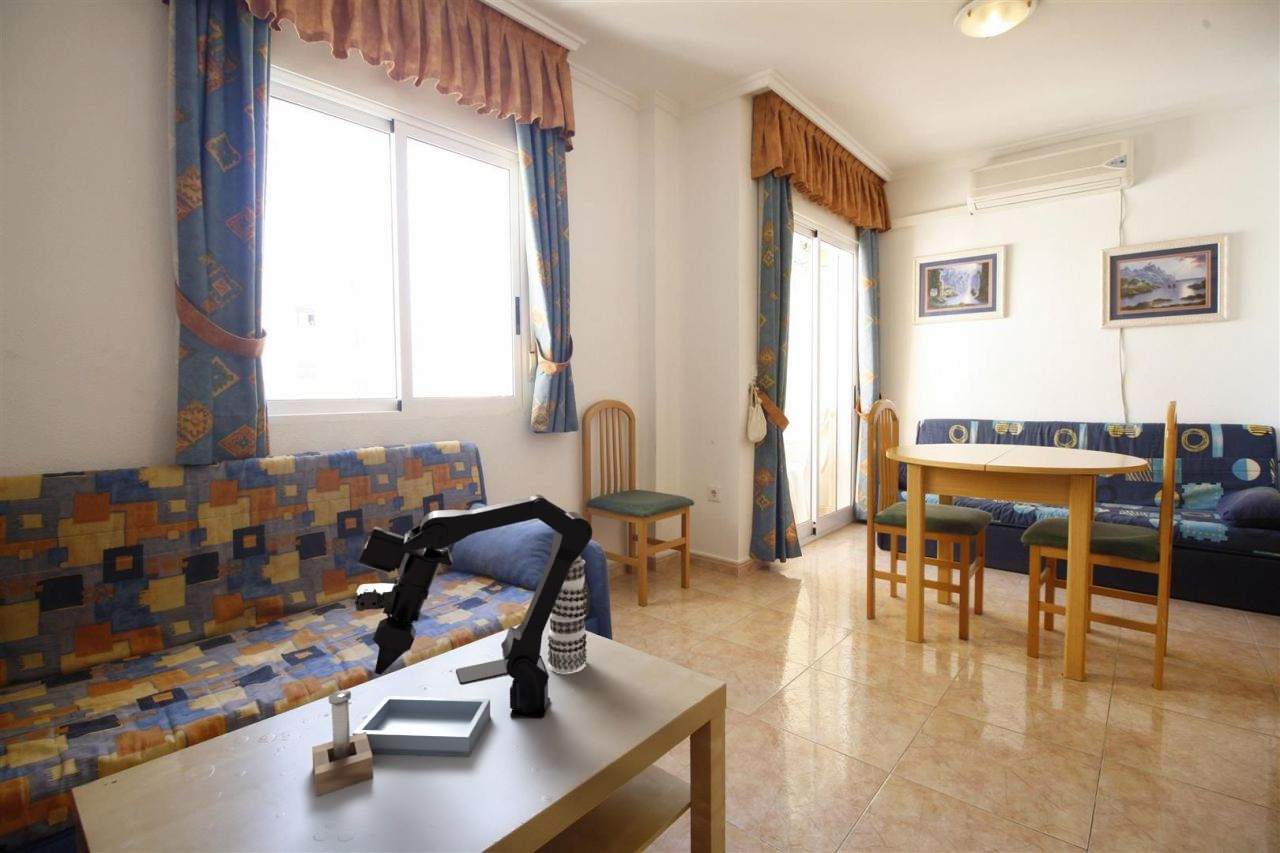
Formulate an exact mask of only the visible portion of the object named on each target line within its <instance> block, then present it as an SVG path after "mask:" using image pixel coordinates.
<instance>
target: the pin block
mask: <svg viewBox="0 0 1280 853" xmlns="http://www.w3.org/2000/svg"><path fill="white" fill-rule="evenodd" d="M311 751H312V769H313V770H312V771H313V780H314V787H315V796H316V797H319V796H321V795H325V794H329V793H332V792H334V791H336V790H337V791H338V790H340V789H344V788H346V787H349V786H350V787H351V786H352V785H356V784H360V783H361V782H362V783H363V782H365V781H368V780H371V779H374V764H373V763H374V762H373V759H374V758H373V754H372V753H371V749H370V746H369V742H368V738H367V735H366V734H365V732H364V734H363V733H362V734H361V733H360V734H356V735H353V734H352V735H350V757H347V758H344V759H340V760H337V761H334V751H333V740H331V741H329V742H325V743H321V744H317V745H314V746H312V750H311Z"/></svg>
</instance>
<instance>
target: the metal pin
mask: <svg viewBox="0 0 1280 853" xmlns="http://www.w3.org/2000/svg"><path fill="white" fill-rule="evenodd" d="M351 698H352V693H351V691H350V690H347V689H342V690H338V691H334V692H332V693H331V694H329V696H328V704H330V705H331V721H332V723H331V724H332V741H333V751H334V761H337V760H340V759H344V758H347V757H350V736H351V734H350V733H351V730H350V708H349V701H350V700H351Z"/></svg>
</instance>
